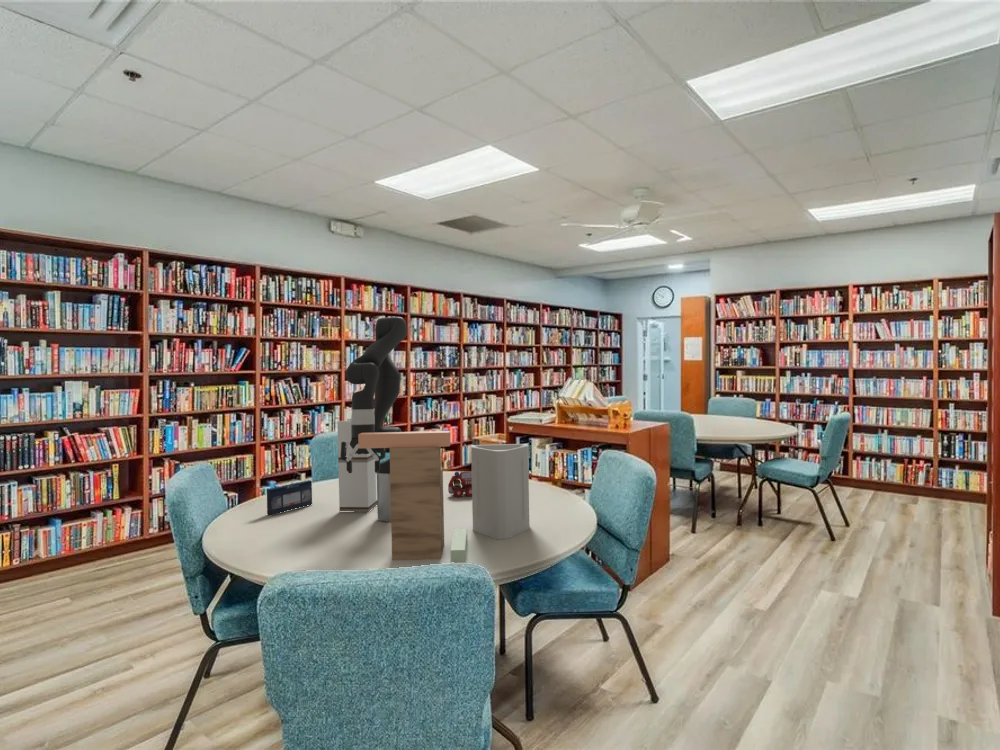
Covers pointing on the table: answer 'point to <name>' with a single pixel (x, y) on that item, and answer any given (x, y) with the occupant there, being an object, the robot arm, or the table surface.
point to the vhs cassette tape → (289, 497)
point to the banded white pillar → (355, 476)
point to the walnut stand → (416, 503)
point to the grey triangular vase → (500, 489)
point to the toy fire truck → (465, 482)
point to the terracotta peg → (404, 439)
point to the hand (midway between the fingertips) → (363, 472)
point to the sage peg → (459, 545)
